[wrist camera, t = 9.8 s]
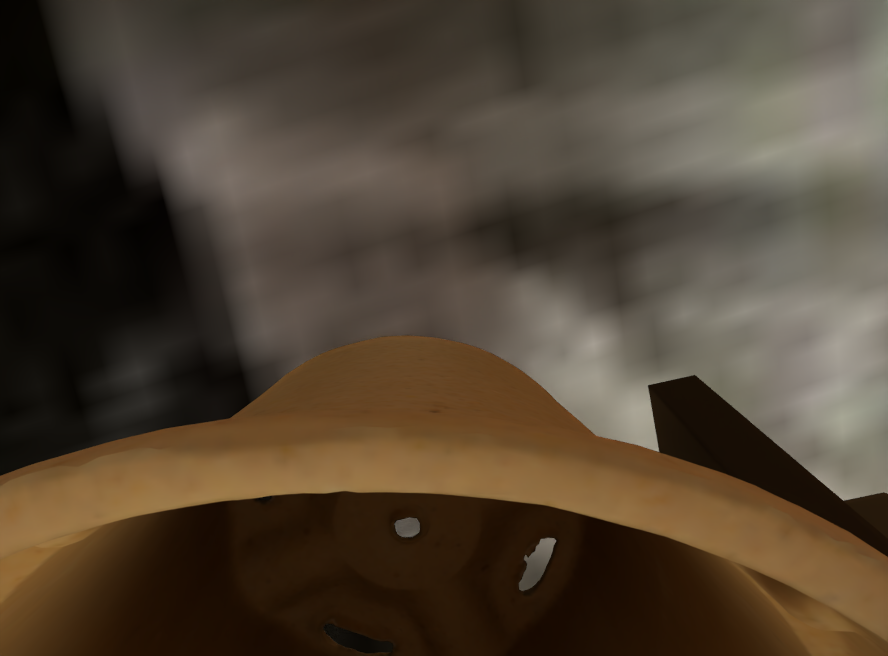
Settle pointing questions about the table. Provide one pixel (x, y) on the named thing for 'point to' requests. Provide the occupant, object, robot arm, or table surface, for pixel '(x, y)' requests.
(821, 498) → the robot arm
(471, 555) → the flower pot
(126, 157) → the table surface
